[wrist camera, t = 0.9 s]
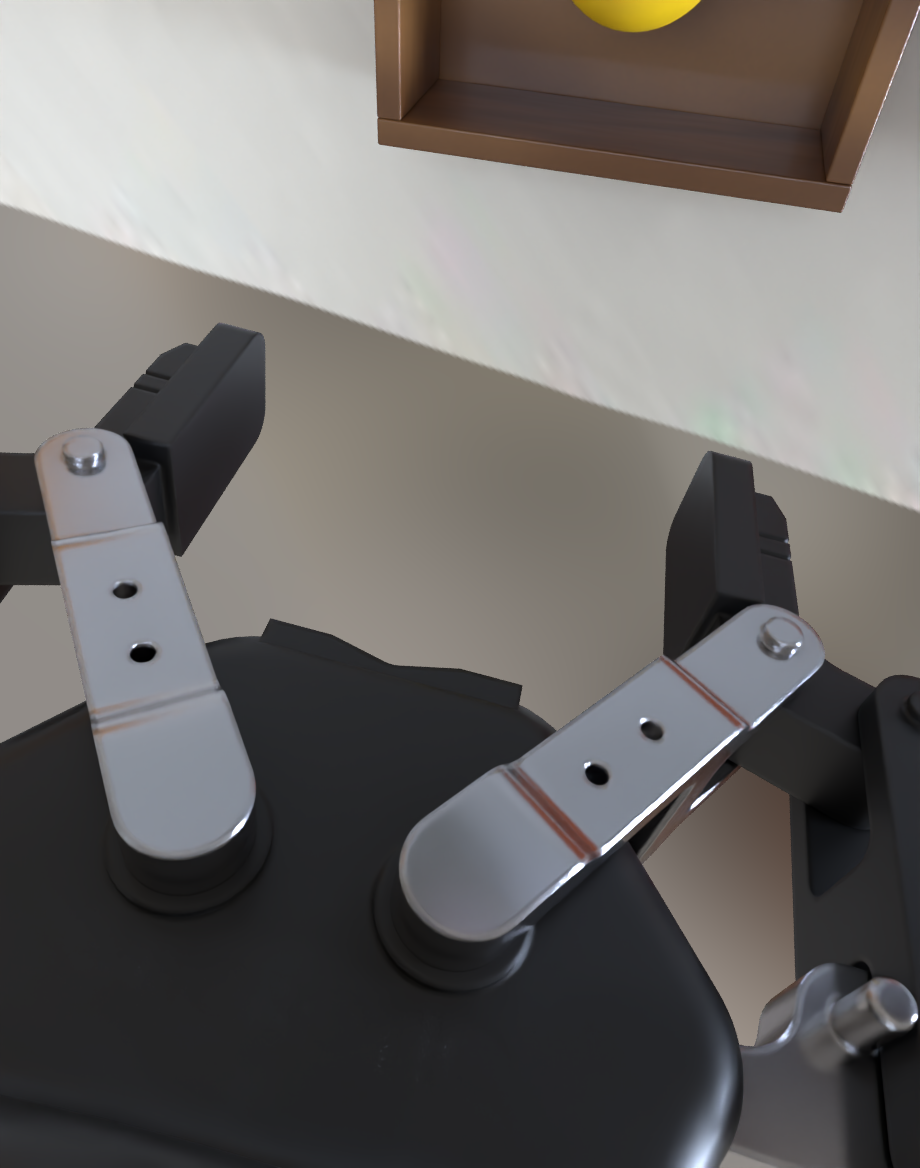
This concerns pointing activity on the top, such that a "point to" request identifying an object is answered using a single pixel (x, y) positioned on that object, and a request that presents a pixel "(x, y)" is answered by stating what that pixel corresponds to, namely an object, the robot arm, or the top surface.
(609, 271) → the top surface
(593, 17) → the pepper
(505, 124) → the wooden tray
